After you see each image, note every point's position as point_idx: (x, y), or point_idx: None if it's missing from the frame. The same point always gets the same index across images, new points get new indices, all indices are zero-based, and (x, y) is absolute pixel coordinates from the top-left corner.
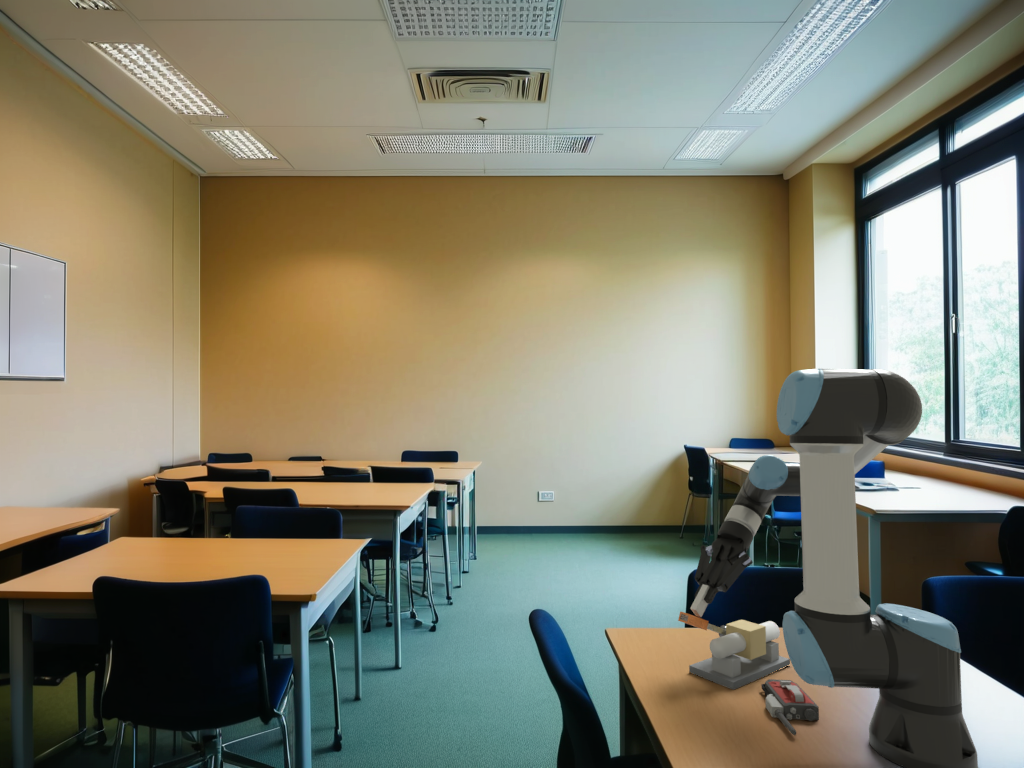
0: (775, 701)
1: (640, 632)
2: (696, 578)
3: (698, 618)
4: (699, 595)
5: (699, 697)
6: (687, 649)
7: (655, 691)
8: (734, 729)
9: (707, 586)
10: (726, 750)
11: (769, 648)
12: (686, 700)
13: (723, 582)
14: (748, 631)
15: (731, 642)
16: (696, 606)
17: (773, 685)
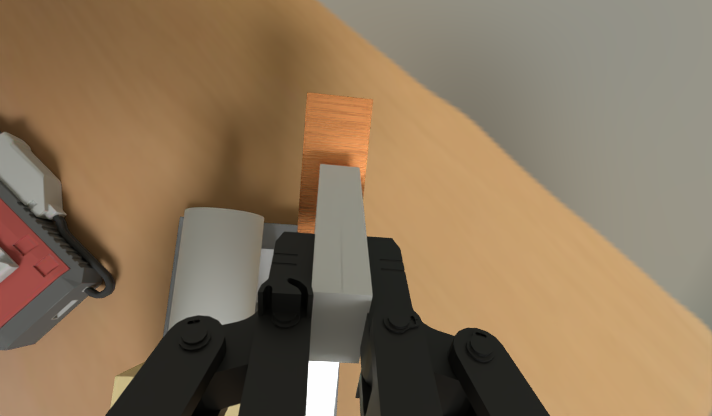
0: (8, 172)
1: (665, 407)
2: (474, 336)
3: (302, 174)
4: (345, 222)
5: (229, 105)
6: None
7: (329, 54)
8: (73, 15)
9: (315, 283)
10: None
11: None
12: (243, 66)
13: (154, 352)
14: (126, 376)
15: (180, 264)
16: (327, 177)
17: (41, 253)
